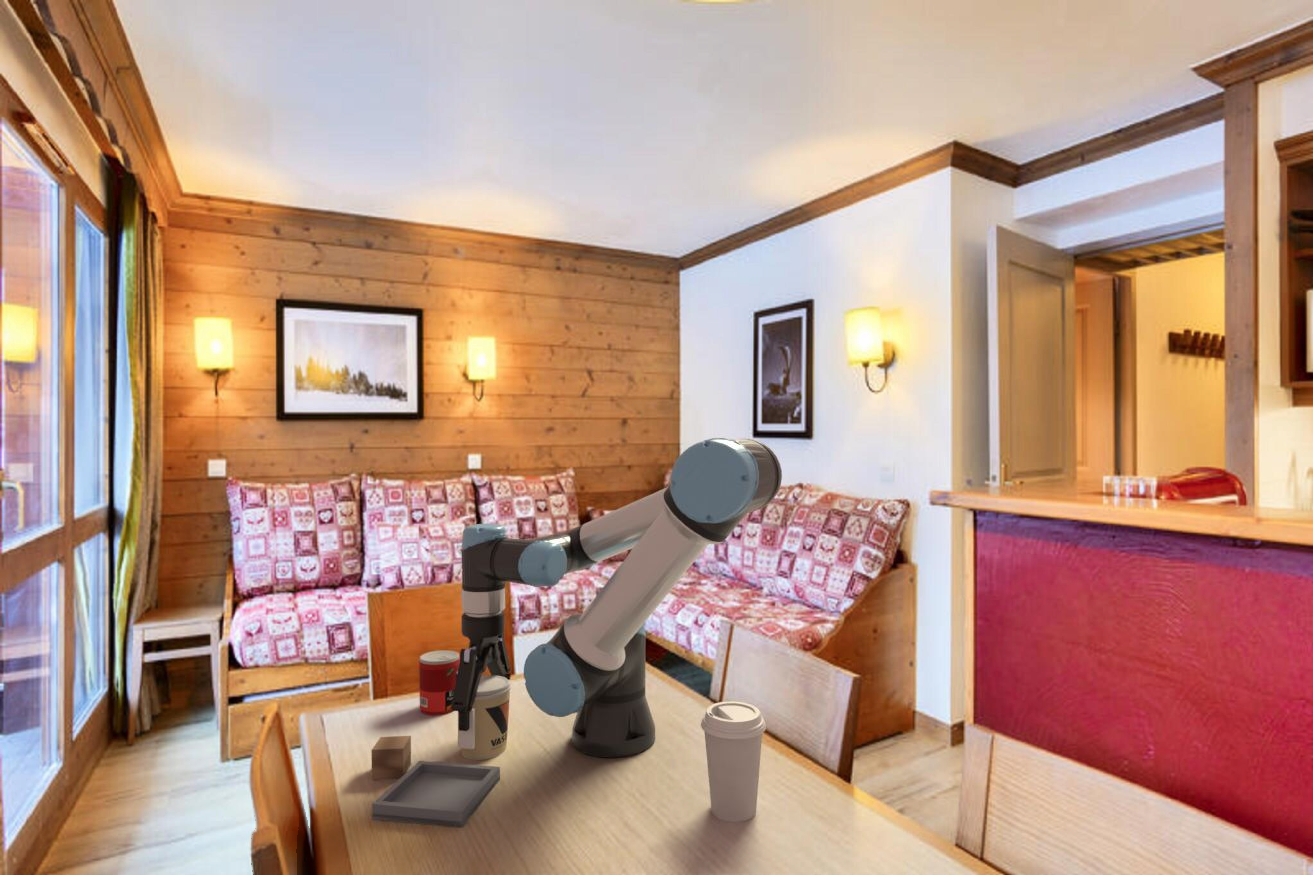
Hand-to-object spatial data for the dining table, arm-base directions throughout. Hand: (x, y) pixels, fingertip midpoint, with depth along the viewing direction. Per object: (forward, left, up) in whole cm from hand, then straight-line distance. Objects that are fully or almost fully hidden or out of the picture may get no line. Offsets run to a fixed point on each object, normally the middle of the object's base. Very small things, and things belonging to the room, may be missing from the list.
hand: (482, 731), depth 126 cm
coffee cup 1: (0, 0, -4) cm, 4 cm away
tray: (0, +17, -3) cm, 17 cm away
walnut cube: (+12, +10, -4) cm, 16 cm away
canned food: (+17, -17, -4) cm, 24 cm away
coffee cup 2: (-45, +14, -4) cm, 48 cm away
